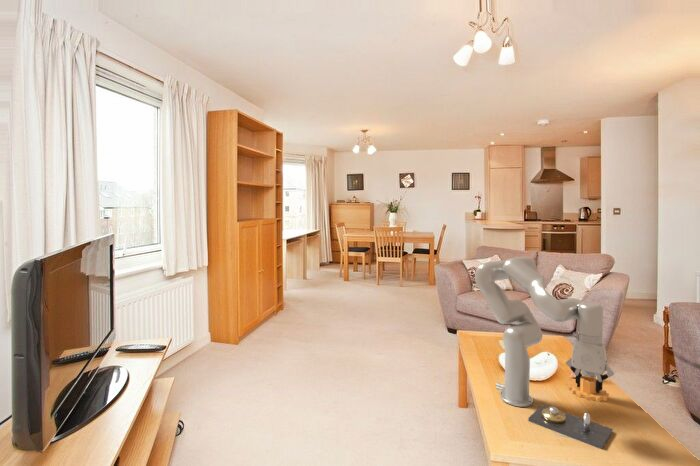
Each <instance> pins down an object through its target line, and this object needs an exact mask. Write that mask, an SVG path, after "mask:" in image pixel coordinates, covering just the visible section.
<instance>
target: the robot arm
mask: <svg viewBox="0 0 700 466" xmlns="http://www.w3.org/2000/svg"><path fill="white" fill-rule="evenodd" d="M509 279H511V280H512V281H514V282H515V283H516V284H518V285H519V286H520V287H521V288H523V289H524V290H525V291H526V292H528V293H529V296H530V298H531V300H532V302H533V303H534V306H536V308H537V309H538V310H539V311H541V312H542V313H543V314H544V315H546V316H547V317H548V318H550V319H551V320H553V321H556V322H557V323H559V322H560V323H564V322H568V321H570V320H577V331H573V332H572V336H575V337H576V339H574V342H573V344H572V345H573V346H572V352H571V357H570V358H569V359H568V360H567V361H566V362H565V365H567V367H569V368H570V370H572V371H573V372H574V374H575V375H576V377H575V384H577V387H580V377H581V376H582V370H583V371H587V372H591V373H595V374H596V379H597V381H596V392H597V393H599V392H600V390H603V386H604V385H603V382H604V381H605V380H606V379H608V378H611V377H613V376H614V375H615V372H614V371H613V369H612V368H611V367H610V366H609V364H608V359H607V350H606V345H605V343H604V342H603V338H604V337H603V334H604V333H603V331H604V325H603V324H604V308H603V306H602V305H601V304H599V303H596V302H588V301H587V302H586V301H583V300H581V299H579V298H574V297H568V298H564V299H559V300H558V299H557V298H555V297H554V296H553V295H551V294H550V292H548V291H547V289H545V285H546V282H547V279H546V277H545V276H544V275H542V274H541V273H540V272H538V271H537V264H536V262H535V261H534V259H532V258H531V257H529V256H517V257H511V258H509V259H503V260H495V261H487V262H486V261H485V262H483V263H481V264H480V265H478V267H477V268H476V269H475V272H474V281H475V284H476V286H477V289H478V290H479V291H480V293H481V295H482V296H483V298H484V299H485V300H486V302H487V305H488V306H489V308H490V310H491V312H492V314H493V316H494V318H495V319H496V320H497V322H498V323H500V324H501V325H509V324H513V323H514V324H515V325H511V326H509V327H507V328H506V329H505V330H504V332H503V333H502V334H503V335H502V341H503V346H504V384H502V383H500V382H496V383H495V389H496V390H498V391H501V392H500V399H501V400H502V401H503V402H504V403H506V404H508V405H511V406H514V407H521V408H523V407H530V406H533V404H534V399H533V397H532V396H531V395H530V377H531V376H530V374H531V373H530V369H531V361H530V360H531V359H530V355H529V353H528V352H529V351H528V348H529V347H532V346H535V345H538V344H539V343H540V342H541V341H542V339H543V331H542V329H541V327H540V325H539V323H538V321H537V320H536V318H535V316H534V314H533V313H532V312H531V310H530V307H528V305H527V304H526V302H524V301H522V300H520V299H509V298H508V296H507V295H506V293H505V291H504V290H503V288H502V287H501V286H500V285H498V284H497V283H496V281H501V280H509ZM580 372H581V373H580ZM605 372H607V373H605Z"/></svg>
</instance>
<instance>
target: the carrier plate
mask: <svg viewBox="0 0 700 466" xmlns="http://www.w3.org/2000/svg"><path fill="white" fill-rule="evenodd" d="M527 421H528V422H530V423H532V424H536V425H538V426H541V427H543V428H546V429H549V430H552V431H554V432H556V433H559V434H561V435H564V436H567V437H568V438H572V439H575V440H577V441H580V442H582V443H584V444H587V445H590V446H593V447H595V448H597V449H600V450H603V448H604V447H605V446H606V444H607V443H608V440H609V439H610V438H611V436H612V434H613V431H614V429H613V428H611V427H608V426H605V425H603V424H599V423H596V422H593V421H591V415H590V413H588V412H585V413H583V418H582V417H579V416H577V415H573V414H570V413H567V412H565V411H561V410H559V408H558V407H557V406H547V405H544V404H542V405H540V406H539V408H537V409H536V410H535V411H534V412H533V413H532V414H530V416H528V420H527Z"/></svg>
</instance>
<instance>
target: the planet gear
mask: <svg viewBox="0 0 700 466" xmlns="http://www.w3.org/2000/svg"><path fill="white" fill-rule="evenodd" d="M596 381H597V378H596V379H595V378H593V377H589V376H581V377H580V387H577V383H571V385H569V387H568V389H569V391H570V393H571V395H575V396H576V397H577V398H579V399H586V401H590V402H591V401H595V402H600V403H601V401H604V402H605V401H608V399H609V395H610V394H609V393H607V390H606V389H602V390H600V392H599V393H597V392H596Z"/></svg>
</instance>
